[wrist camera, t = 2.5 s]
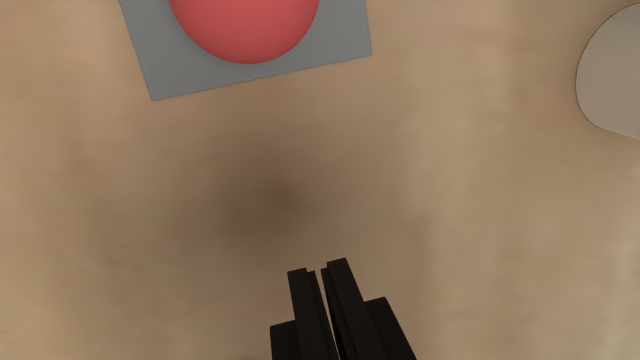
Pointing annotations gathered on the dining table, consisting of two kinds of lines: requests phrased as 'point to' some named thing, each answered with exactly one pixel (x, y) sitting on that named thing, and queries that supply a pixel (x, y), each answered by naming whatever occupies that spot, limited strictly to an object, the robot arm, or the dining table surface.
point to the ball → (245, 26)
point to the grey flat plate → (212, 72)
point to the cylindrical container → (612, 74)
